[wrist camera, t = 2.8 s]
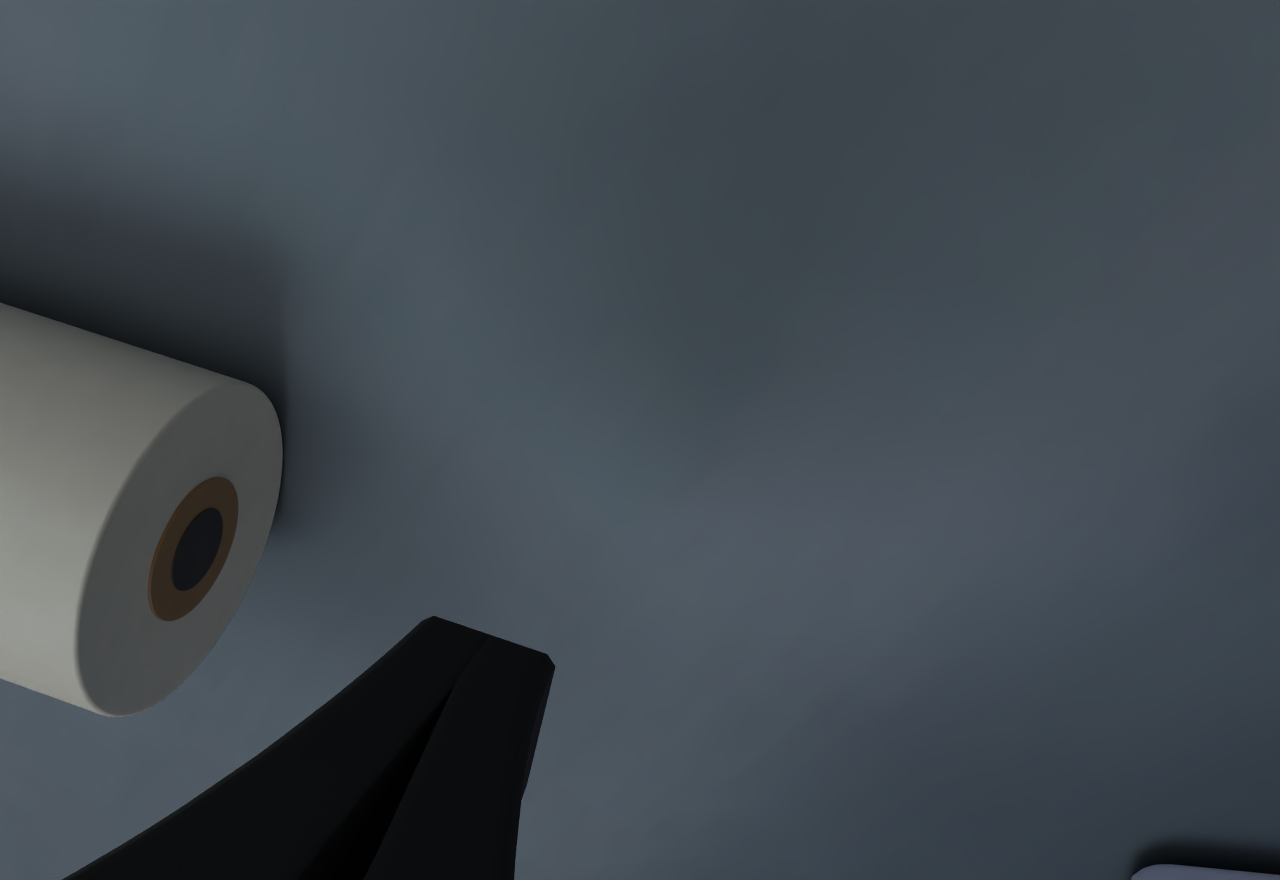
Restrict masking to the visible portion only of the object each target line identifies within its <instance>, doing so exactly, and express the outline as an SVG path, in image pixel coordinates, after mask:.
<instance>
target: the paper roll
mask: <svg viewBox="0 0 1280 880" xmlns="http://www.w3.org/2000/svg"><path fill="white" fill-rule="evenodd" d="M282 457H283V450H282V435H281V429H280V423H279V420H278V417H277V413H276V411H275V409H274V407H273V405H272V403H271V401H270V400H269V399H268V397H267V396H266V395H265V394H264V393H263V392H262V391H261V390H260V389H258V388H257V387H256V386H254V385H252V384H249V383H246V382H244V381H240V380H237V379H234V378H231V377H228V376H225V375H222V374H219V373H216V372H213V371H210V370H207V369H203V368H200V367H197V366H194V365H191V364H188V363H185V362H182V361H179V360H176V359H173V358H170V357H166V356H163V355H160V354H157V353H154V352H151V351H148V350H145V349H142V348H139V347H136V346H133V345H130V344H126V343H123V342H120V341H117V340H114V339H111V338H108V337H105V336H102V335H99V334H96V333H93V332H89V331H86V330H83V329H80V328H77V327H74V326H71V325H68V324H65V323H62V322H59V321H56V320H52V319H49V318H46V317H43V316H40V315H37V314H34V313H31V312H28V311H25V310H22V309H19V308H16V307H12V306H9V305H6V304H3V303H0V678H1V679H4V680H6V681H9V682H12V683H15V684H17V685H20V686H23V687H26V688H29V689H31V690H34V691H37V692H40V693H42V694H45V695H48V696H51V697H54V698H56V699H59V700H62V701H65V702H67V703H70V704H73V705H76V706H79V707H81V708H84V709H87V710H90V711H92V712H95V713H98V714H101V715H105V716H109V717H127V716H131V715H134V714H138V713H140V712H143V711H145V710H147V709H149V708H151V707H153V706H154V705H156V704H157V703H159V702H160V701H162V700H163V699H165V698H166V697H167V696H168V695H170V694H171V693H172V692H173V691H174V690H176V689H177V688H178V687H179V686H180V685H181V684H182V683H183V682H184V681H185V680H186V679H187V678H188V677H189V676H190V675H191V674H192V673H193V672H194V670H195V669H196V668H197V667H198V666H199V665H200V664H201V662H202V661H203V660H204V658H205V657H206V656H207V655H208V653H209V652H210V651H211V649H212V648H213V647H214V645H215V644H216V642H217V641H218V639H219V638H220V636H221V635H222V633H223V632H224V630H225V629H226V627H227V625H228V624H229V622H230V620H231V619H232V617H233V615H234V614H235V612H236V610H237V608H238V606H239V604H240V603H241V601H242V599H243V597H244V595H245V593H246V591H247V589H248V587H249V584H250V582H251V580H252V578H253V576H254V573H255V571H256V568H257V566H258V564H259V561H260V559H261V556H262V553H263V550H264V548H265V545H266V542H267V539H268V535H269V532H270V529H271V525H272V522H273V518H274V514H275V510H276V506H277V501H278V495H279V490H280V483H281V474H282Z"/></svg>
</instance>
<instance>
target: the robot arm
mask: <svg viewBox="0 0 1280 880" xmlns="http://www.w3.org/2000/svg"><path fill="white" fill-rule="evenodd" d="M554 670H555V665H554V664H553V662H552V661H551V659H550V658H549V656H548V655H547V654H545V653H542V652H539V651H536V650H533V649H530V648H527V647H524V646H521V645H519V644H516V643H513V642H510V641H507V640H504V639H501V638H498V637H495V636H492V635H489V634H486V633H483V632H480V631H477V630H474V629H471V628H468V627H465V626H462V625H460V624H457V623H454V622H451V621H448V620H445V619H442V618H439V617H436V616H432V617H430V618H428V619H425V620H423V621H421V622H420V623H419V624H418V625H417V626H416V627H415V628H414V629H413V630H412V631H411V632H409V633H408V634H407V635H406V636H405V637H404V638H403V639H402V640H401V641H400V642H398V643H397V644H396V645H395V646H394V647H393V648H392V649H391V650H389V651H388V652H387V653H386V654H385V655H384V656H383V657H381V658H380V659H379V660H378V661H377V662H376V663H374V664H373V665H372V666H371V667H370V668H368V669H367V670H366V671H365V672H364V673H363V674H361V675H360V676H359V677H358V678H356V679H355V680H354V681H353V682H352V683H350V684H349V685H348V686H347V687H345V688H344V689H343V690H342V691H341V692H339V693H338V694H337V695H336V696H334V697H333V698H332V699H331V700H329V701H328V702H327V703H326V704H324V705H323V706H322V707H320V708H319V709H318V710H316V711H315V712H314V713H312V714H311V715H310V716H309V717H307V718H306V719H305V720H303V721H302V722H301V723H299V724H298V725H297V726H295V727H294V728H293V729H292V730H290V731H289V732H288V733H286V734H285V735H284V736H282V737H281V738H280V739H278V740H277V741H276V742H274V743H273V744H272V745H270V746H269V747H268V748H266V749H265V750H264V751H262V752H261V753H259V754H258V755H257V756H255V757H254V758H253V759H251V760H250V761H248V762H247V763H245V764H244V765H242V766H241V767H239V768H238V769H236V770H235V771H234V772H232V773H231V774H229V775H228V776H226V777H225V778H223V779H222V780H220V781H219V782H218V783H216V784H215V785H213V786H212V787H210V788H209V789H207V790H206V791H204V792H203V793H202V794H200V795H199V796H197V797H196V798H194V799H193V800H191V801H190V802H188V803H187V804H186V805H184V806H182V807H181V808H179V809H178V810H176V811H175V812H173V813H172V814H170V815H169V816H167V817H165V818H164V819H162V820H161V821H159V822H158V823H156V824H154V825H153V826H151V827H150V828H148V829H147V830H145V831H143V832H142V833H140V834H138V835H137V836H135V837H134V838H132V839H130V840H129V841H127V842H125V843H124V844H122V845H121V846H119V847H117V848H115V849H114V850H112V851H110V852H109V853H107V854H105V855H104V856H102V857H100V858H98V859H97V860H95V861H93V862H92V863H90V864H88V865H87V866H85V867H83V868H81V869H80V870H78V871H76V872H75V873H73V874H71V875H69V876H68V877H66V878H64V879H62V880H514V872H515V857H516V846H517V836H518V826H519V817H520V807H521V800H522V797H523V794H524V791H525V788H526V785H527V782H528V778H529V773H530V769H531V765H532V761H533V757H534V753H535V749H536V745H537V740H538V736H539V732H540V728H541V724H542V720H543V716H544V712H545V707H546V703H547V699H548V695H549V691H550V687H551V683H552V678H553V674H554ZM1131 880H1280V875H1276V874H1266V873H1256V872H1246V871H1235V870H1225V869H1215V868H1205V867H1194V866H1184V865H1174V864H1155V865H1152V866H1149V867H1146V868H1143V869H1141V870H1140V871H1138V872H1137V873H1136V874H1134V875H1133V876H1132V878H1131Z"/></svg>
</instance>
